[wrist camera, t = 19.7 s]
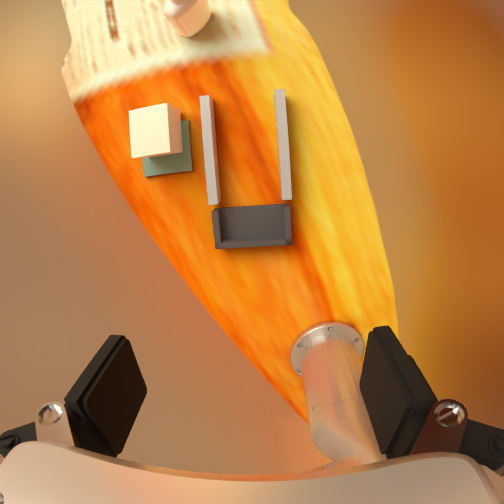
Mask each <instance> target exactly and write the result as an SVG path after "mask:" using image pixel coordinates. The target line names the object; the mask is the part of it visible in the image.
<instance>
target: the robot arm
mask: <svg viewBox="0 0 504 504" xmlns="http://www.w3.org/2000/svg"><path fill="white" fill-rule="evenodd" d="M363 348H364V345H363V341H362V338H361V336H360V334H359V333H358V331H357V330H356V329H354V328H353V327H352V326H350V325H348V324H345V323H341V322H326V323H321V324H318V325H315V326H313V327H311V328H309V329H307V330H306V331H305V332H303V333H302V334H301V335H300V336H299V337H298V338H297V339H296V341H295V342H294V344H293V346H292V348H291V353H290V359H291V365H292V367H293V369H294V371H295V372H296V373H297V374H298V375H299V376H301V377H302V378H303V383H304V390H305V397H306V404H307V411H308V419H309V426H310V434H311V439H312V441H313V443H314V445H315V447H316V448H317V449H318V450H319V451H320V452H321V453H322V454H324V455H325V456H326V457H328V458H329V459H331V460H333V461H334V462H332V463H329V464H326V465H323V466H321V467H318V468H314V469H311V470H307V471H303V472H298V473H293V474H270V475H236V474H215V473H203V472H193V471H184V470H177V469H169V468H163V467H157V466H151V465H145V464H140V463H136V462H131V461H127V460H122V459H118V458H116V457H117V455H118V454H120V453H121V452H122V450H123V448H124V445H125V443H126V440H127V438H128V436H129V433H130V431H131V429H132V426H133V424H134V421H135V419H136V417H137V414H138V412H139V410H140V408H141V405H142V403H143V401H144V399H145V396H146V394H147V387H146V384H145V382H144V379H143V377H142V374H141V372H140V369H139V366H138V363H137V361H136V358H135V355H134V352H133V349H132V346H131V344H130V341H129V340H128V339H126V337H125V336H123V335H110V336H109V337H108V339H107V340H106V341H105V343H104V344H103V345H102V347H101V348H100V349H99V351H98V352H97V353H96V355H95V356H94V358H93V359H92V360H91V362H90V363H89V364H88V366H87V367H86V368H85V370H84V371H83V373H82V374H81V375H80V377H79V378H78V380H77V381H76V382H75V384H74V385H73V387H72V388H71V390H70V391H69V392H68V394H67V396H66V397H65V398H64V400H65V402H66V403H65V404H64V406H63V405H62V404H61V403H59V402H48V403H46V404H44V405H42V406H41V407H40V408H39V409H38V410H37V412H36V414H35V422H32V423H29V424H27V425H24V426H21V427H18V428H15V429H12V430H9V431H6V432H4V433H3V434H2V435H1V436H0V504H504V430H503V429H500V428H496V427H493V426H489V425H486V424H483V423H479V422H476V421H473V420H470V419H468V412H467V409H466V408H465V407H464V405H463V404H462V403H460V402H459V401H456V400H454V399H442V400H440V401H438V400H437V398H436V396H435V394H434V393H433V391H432V389H431V388H430V386H429V384H428V382H427V381H426V379H425V377H424V376H423V374H422V373H421V371H420V369H419V368H418V366H417V365H416V363H415V361H414V359H413V358H412V357H411V356H410V355H407V353H406V352H405V350H404V349H403V347H402V345H401V344H400V342H399V340H398V339H397V337H396V336H395V334H394V333H393V331H392V330H391V328H390V327H389V326H380V327H375V328H374V329H373V331H371V332H369V334H368V340H367V346H366V352H365V357H364V362H363V364H362V362H361V360H360V359H361V357H362V354H363Z"/></svg>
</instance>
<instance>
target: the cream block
mask: <svg viewBox="0 0 504 504" xmlns="http://www.w3.org/2000/svg"><path fill="white" fill-rule="evenodd" d="M129 124H130V140H131V153H132V158H147V157H155V156H161V155H168V154H175V153H182V152H183V146H182V133H181V118H180V109H178V108H176V107H174V106H172V105H170V104H168V103H164V104H159V105H154V106H149V107H144V108H140V109H135V110H131V111H129Z"/></svg>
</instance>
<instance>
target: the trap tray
mask: <svg viewBox="0 0 504 504" xmlns="http://www.w3.org/2000/svg"><path fill="white" fill-rule="evenodd" d="M212 221H213V230H214V239H215V248H216V249H225V248H243V247H261V246H279V245H292V236H291V210H290V205H289V204H274V205H257V206H241V207H227V208H215V209H214V210H213V211H212Z"/></svg>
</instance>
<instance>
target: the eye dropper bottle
mask: <svg viewBox="0 0 504 504" xmlns="http://www.w3.org/2000/svg"><path fill="white" fill-rule="evenodd" d="M164 15H165V16H166V18H167V19H168V20H169V22H170V23H171V24H172V26H173V27H174V28H175V30H176V31H177V32H178V33H179V34H180V35H182V36H185V37H191V36H193V35H195V34H196V33H198V32H199V31H200V30H201V29H202V28H203V27H204V26H205V25H206V24H207V22H208V21H209V19H210V16H211V9H210V7H209V4H208V2H207V0H168V1H167V3H166V5H165V8H164Z"/></svg>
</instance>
